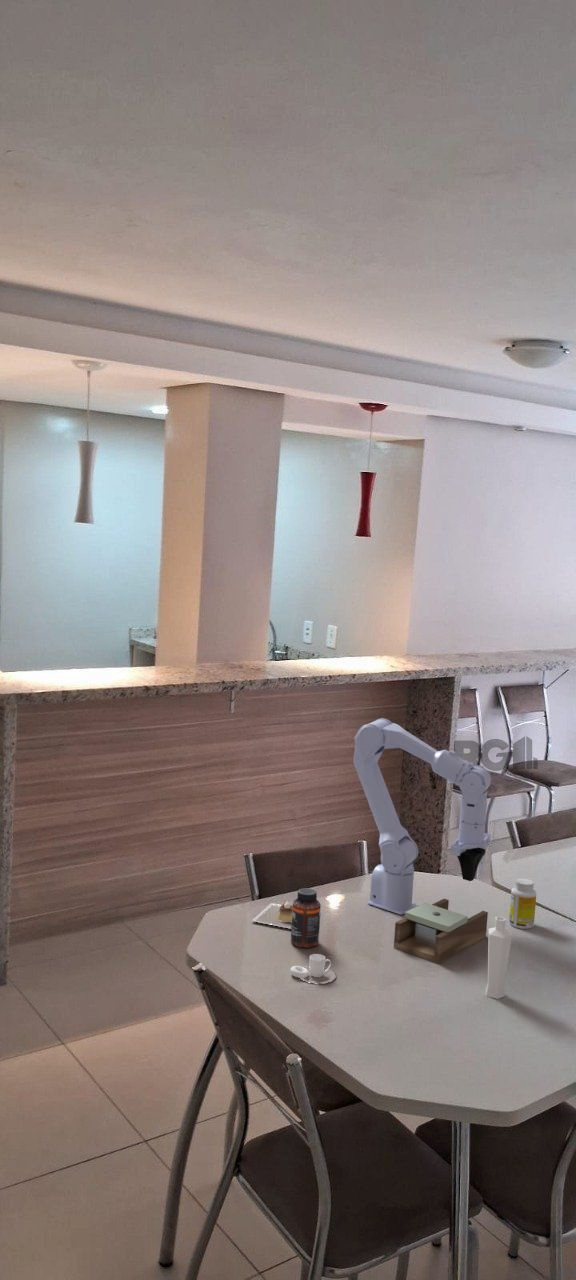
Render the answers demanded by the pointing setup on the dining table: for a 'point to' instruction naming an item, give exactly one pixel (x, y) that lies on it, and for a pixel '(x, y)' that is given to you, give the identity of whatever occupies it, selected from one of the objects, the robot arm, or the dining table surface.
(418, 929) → the grey hollow square block
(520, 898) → the supplement bottle
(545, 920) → the dining table surface
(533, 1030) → the dining table surface
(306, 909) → the supplement bottle
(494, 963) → the perfume bottle
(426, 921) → the cover
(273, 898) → the dining table surface
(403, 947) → the housing
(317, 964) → the teacup and saucer
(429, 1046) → the dining table surface
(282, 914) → the dessert
